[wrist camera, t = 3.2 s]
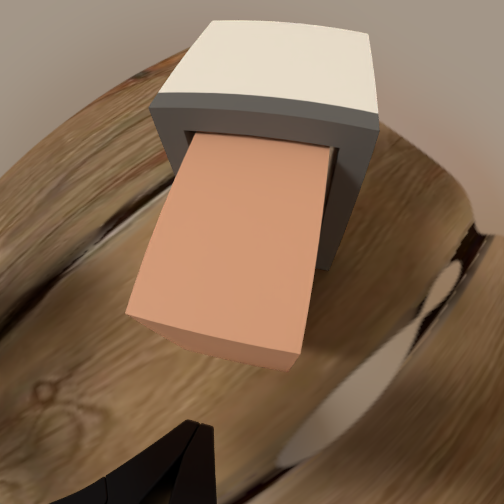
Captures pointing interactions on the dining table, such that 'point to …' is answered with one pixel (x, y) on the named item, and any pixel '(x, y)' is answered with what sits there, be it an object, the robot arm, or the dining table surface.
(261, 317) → the peg
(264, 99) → the sleeve
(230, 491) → the dining table surface
